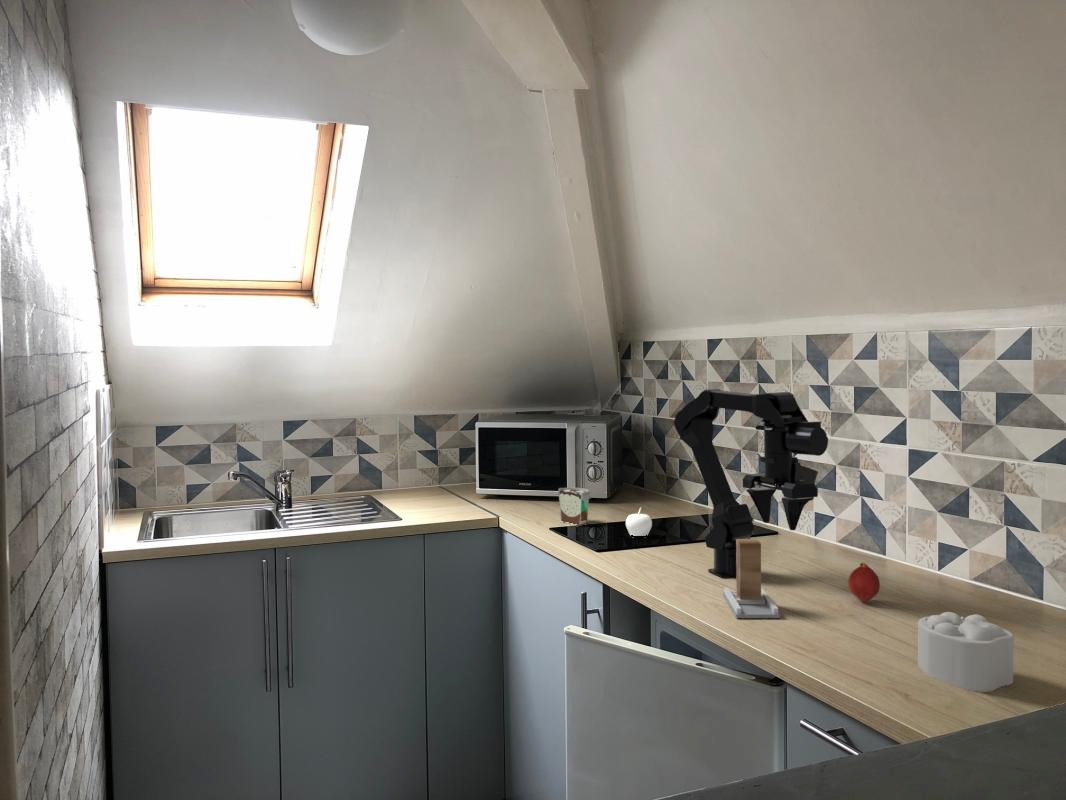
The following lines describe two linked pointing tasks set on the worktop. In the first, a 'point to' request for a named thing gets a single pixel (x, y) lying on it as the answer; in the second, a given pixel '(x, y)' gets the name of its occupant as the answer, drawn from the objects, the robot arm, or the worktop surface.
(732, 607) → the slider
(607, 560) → the worktop surface
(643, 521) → the plain white apple
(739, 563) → the brown rectangular block
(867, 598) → the onion
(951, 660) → the lumpy-topped squat cylinder
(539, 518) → the worktop surface
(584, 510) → the food container
